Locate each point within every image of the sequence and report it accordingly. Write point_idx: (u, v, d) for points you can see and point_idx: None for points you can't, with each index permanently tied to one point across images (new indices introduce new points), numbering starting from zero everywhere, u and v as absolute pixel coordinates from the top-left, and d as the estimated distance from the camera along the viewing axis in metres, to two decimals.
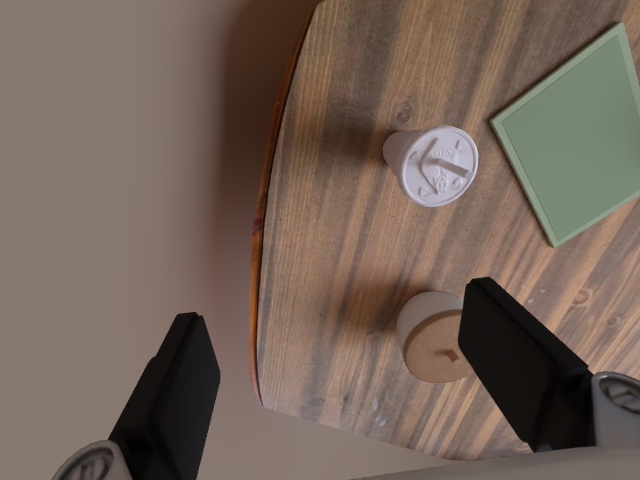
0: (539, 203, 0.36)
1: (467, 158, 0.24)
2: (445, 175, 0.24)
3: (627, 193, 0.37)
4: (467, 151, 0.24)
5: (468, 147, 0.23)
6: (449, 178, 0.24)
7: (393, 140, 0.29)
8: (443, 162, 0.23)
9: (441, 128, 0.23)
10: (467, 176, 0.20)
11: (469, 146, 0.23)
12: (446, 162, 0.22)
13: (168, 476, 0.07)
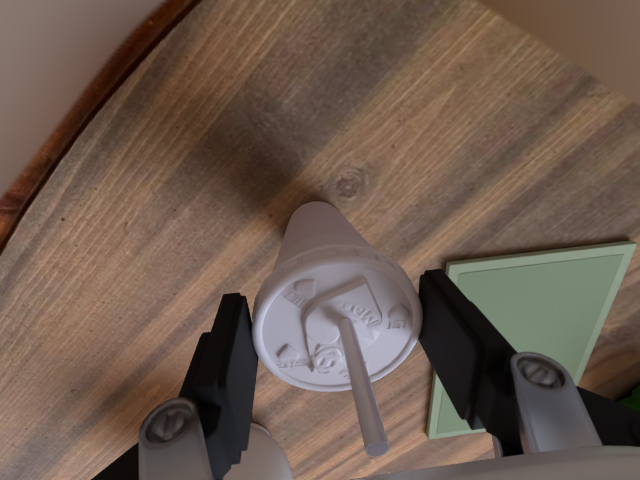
0: (442, 386, 0.27)
1: (396, 339, 0.12)
2: (343, 350, 0.11)
3: None
4: (403, 329, 0.11)
5: (408, 323, 0.11)
6: None
7: (307, 215, 0.16)
8: (349, 337, 0.10)
9: (383, 267, 0.10)
10: (373, 446, 0.07)
11: (411, 323, 0.11)
12: (354, 344, 0.10)
13: (230, 433, 0.08)
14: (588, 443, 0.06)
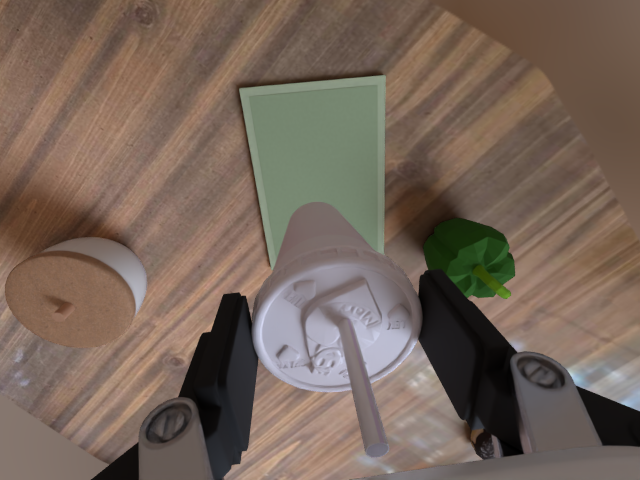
0: (267, 212, 0.34)
1: (396, 340, 0.12)
2: (342, 350, 0.11)
3: None
4: (402, 330, 0.11)
5: (408, 324, 0.11)
6: None
7: (307, 215, 0.16)
8: (349, 338, 0.10)
9: (383, 268, 0.10)
10: (373, 447, 0.07)
11: (411, 324, 0.11)
12: (354, 344, 0.10)
13: (230, 433, 0.08)
14: (588, 443, 0.06)
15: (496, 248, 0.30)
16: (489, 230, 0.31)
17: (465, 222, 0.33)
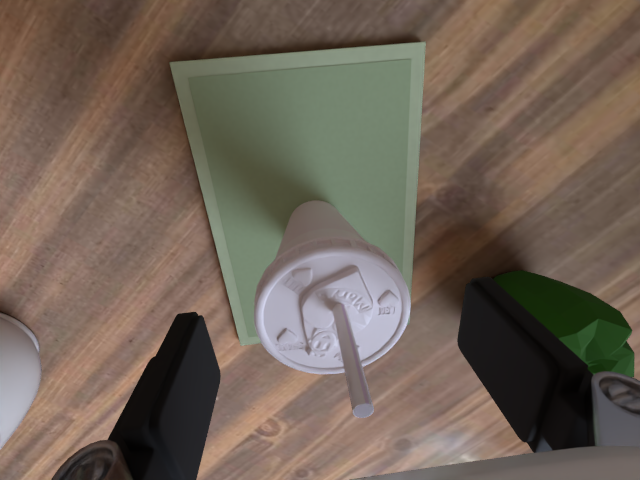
0: (230, 264, 0.21)
1: (386, 325, 0.13)
2: (337, 334, 0.12)
3: None
4: (392, 315, 0.12)
5: (397, 310, 0.12)
6: None
7: (306, 212, 0.17)
8: (342, 320, 0.11)
9: (373, 257, 0.11)
10: (360, 408, 0.08)
11: (400, 309, 0.12)
12: (346, 325, 0.11)
13: (168, 476, 0.07)
14: None
15: (612, 338, 0.18)
16: (596, 305, 0.18)
17: (546, 285, 0.20)
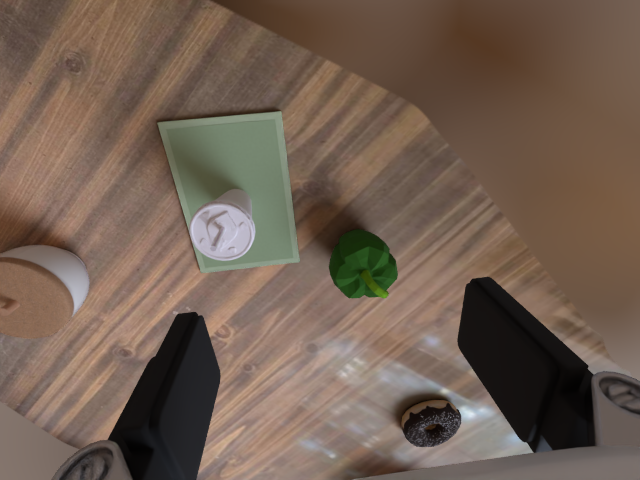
0: None
1: (245, 237, 0.31)
2: (223, 240, 0.30)
3: (270, 257, 0.43)
4: (246, 233, 0.31)
5: (248, 230, 0.31)
6: (226, 243, 0.31)
7: (224, 194, 0.35)
8: (219, 230, 0.29)
9: (233, 207, 0.29)
10: (213, 248, 0.26)
11: (248, 230, 0.31)
12: (220, 231, 0.29)
13: (168, 476, 0.07)
14: None
15: (376, 256, 0.36)
16: (372, 240, 0.37)
17: (358, 233, 0.39)
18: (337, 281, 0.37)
